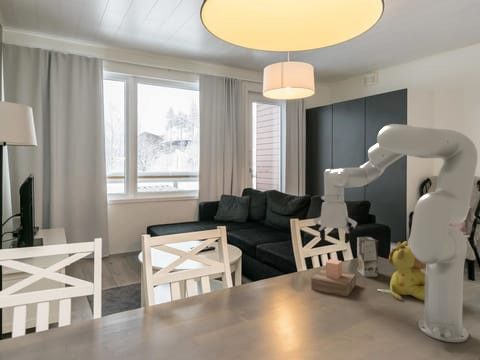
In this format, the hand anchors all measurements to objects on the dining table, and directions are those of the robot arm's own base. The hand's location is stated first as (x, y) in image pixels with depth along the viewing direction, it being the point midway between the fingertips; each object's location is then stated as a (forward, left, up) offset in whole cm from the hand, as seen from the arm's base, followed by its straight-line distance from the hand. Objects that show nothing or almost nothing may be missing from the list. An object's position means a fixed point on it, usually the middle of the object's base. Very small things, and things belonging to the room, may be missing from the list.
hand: (334, 241), depth 131 cm
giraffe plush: (+11, -27, -19) cm, 35 cm away
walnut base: (0, 0, -19) cm, 19 cm away
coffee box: (+24, -8, -19) cm, 32 cm away
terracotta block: (0, 0, -15) cm, 14 cm away
